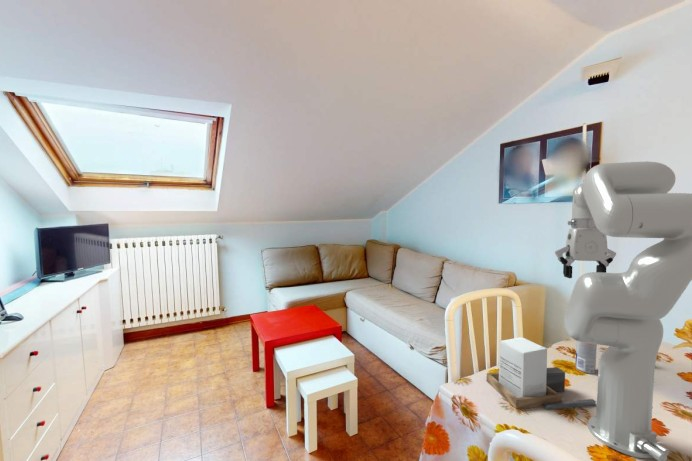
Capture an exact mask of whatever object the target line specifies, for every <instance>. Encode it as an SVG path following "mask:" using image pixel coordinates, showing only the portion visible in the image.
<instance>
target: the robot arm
mask: <svg viewBox="0 0 692 461" xmlns="http://www.w3.org/2000/svg"><path fill="white" fill-rule="evenodd" d="M675 183H676V175H675V172H674V170H673V169H672V168H671V167H670V166H667V165H666V164H664V163H661V162H657V161H629V162H628V161H626V162H609V163H608V162H607V163H601V164H597V165H594V166H593V167H591V168H590V169H589V170H588V171H587V173H585V175H584V178H583V182H582V183H581V184H579V185H577V186H576V187H574V188H573V190H572V207H571V208H572V209H571V210H572V211H571V220H568V221H567V225H568V226H570V227H571V228H569V229H568V232H567V236H566V243H565V246H564V247H562V248H560V249H558V250H557V249H556V250H555V251H554V254H555V255H556V258H557V260H558V261H559V262H560V263H561V264H562V265H563V267H562V268H563V269H562V270H563V271H562V274H563V277H564V278H566V279H567V278H568V279H572V278H573V266H572V264H573V263H574V262H575V261H584V262H588V261H589V262H596V263H597V265H596V270H595V272H587V273H584V274H581V275H580V276H579V277H578V278H577V280H576V282H575V283H574V285H573V286H574V287H573V290H572V292H571V295H570V297H569V299H568V300H569V301H568V303H567V306H566V310H565V314H564V317H563V318H564V320H563V322H564V323H563V324H564V329H565V331H566V333H567V335H568V336H569V337H570V338H572V340H574V341H579V342H584V343H590V344H597V345H598V346H599V345H600V346H605V347H606V346H607V348H605V350H604V351H603V352H602V353H601V354H600V357H599V359H598V360H599V361H598V371H597V372H598V374H597V388H596V390H597V393H596V412H595V413H596V415H594V416H590V418H588V420H587V428H588V430H589V432H590V433H591V435H593V437H595V438H596V439H597V440H598V441H600V442H601V443H603V444H604V445H605V446H607V447H609V448H610V449H613V450H615V451H617V452H619V453H621V454H624V455H627V456H629V457H635V458H638V459H639V458H640V459H656V460H657V461H667V459H668V455H669V454H670V450H669V449H668V448H667V447H665V446H664V445H662V444H660V443H659V442H658V441H657V432H655V431H654V430H652V419H653V418H652V416H653V401H654V399H653V398H654V383H655V372H656V370H655V369H656V362H657V357H658V353H659V349H660V347H661V344H662V342H663V338H664V327H663V323H662V321H661V319H663V318H665V317H667V315H668V314H669V313H671V312H670V311H672V310H673V308H674V306H675V305H676V303H677V302H678V301H679V299H680V298H681V297H682V294H683V293H684V292H685V291H686V289H687V288H688V286H689V284H690V283H691V281H692V193H685V192H684V193H681V192H678V193H677V192H670V191H671V190H672V188H674V186H675ZM607 236H608V237H612V238H613V237H614V238H632V239H634V238H637V239H638V238H639V239H640V238H641V239H662V240H661V241H659V242H657V243H654V244H653V245H651V246H648V247H647V248H646V249H643V250H642V251H641V252H639V254H637V255H636V256H635V257H634V258H633V259H632V261H631V262H630V265H629V266H628V268H627V270H626V271H625V272H618V273H617V272H607V267H609V266H610V264H611V263H612V262H613V260H614V259H615V257H616V256H617V252H615V251H614V250H612V249H609V248H608V239H607V238H608V237H607ZM563 254H564V255H565V256H564V255H563Z"/></svg>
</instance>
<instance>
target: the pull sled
mask: <svg viewBox="0 0 692 461" xmlns="http://www.w3.org/2000/svg"><path fill="white" fill-rule="evenodd" d="M486 382H487V383H488V385H490V386H491V387H492V388H493V389H495V391H496V392H498V393H499V394H500V395H501V396H502V397H503V398H504V399H505V401H506V402H508V403H509V404H510V405H511V406H512V407H513V408H515V410H516V409H517V410H518V409H526V408H529V409H530V408H535V407H536V408H538V407H540V408H541V407H543V405H544V403H553V402H562V395H561V394H560V393H565V386H566V384H565V383H566V372H565V371H564V370H563V369H560V368H559V367H557V366H556V367H555V366H553V367H547V377H546V395H544V396H532V397H520V398H517V397H515V396H514V395H513V394H512V393H511V392H510V391H509V390H507V389H506V388H505V387H504V386H503V385H502V384H501V383H500V382H499V372H491V373H490V372H489V373H488V372H487V373H486Z"/></svg>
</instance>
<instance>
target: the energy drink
mask: <svg viewBox="0 0 692 461" xmlns="http://www.w3.org/2000/svg"><path fill="white" fill-rule="evenodd" d="M575 341H576V340H575ZM575 345H576V346H575V347H576V348H575V365H574V366H575V368H576V369H577V371H580V372H582V373H585V374H595V373H596V369H597V368H596V367H597V347H598V346H597V345H598V344H590V343H584V342H579V341H576V343H575Z"/></svg>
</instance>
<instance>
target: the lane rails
mask: <svg viewBox="0 0 692 461" xmlns="http://www.w3.org/2000/svg"><path fill="white" fill-rule="evenodd" d="M593 406H596V407H597V400H595V399H593V398H588V399H577V400H563V401H561V402H553V403H544V405H543V406H542V407H543V409H544V410H546V411H550V410H560V409H561V410H563V409H572V408H584V407H593Z"/></svg>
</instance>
